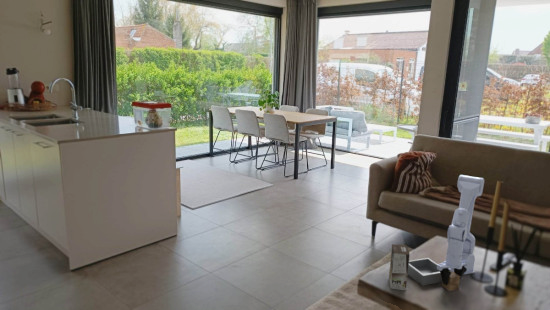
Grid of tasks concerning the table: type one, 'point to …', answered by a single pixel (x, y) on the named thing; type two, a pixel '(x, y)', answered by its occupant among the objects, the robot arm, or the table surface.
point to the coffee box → (399, 267)
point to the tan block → (452, 282)
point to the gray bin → (424, 271)
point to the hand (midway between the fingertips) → (450, 283)
